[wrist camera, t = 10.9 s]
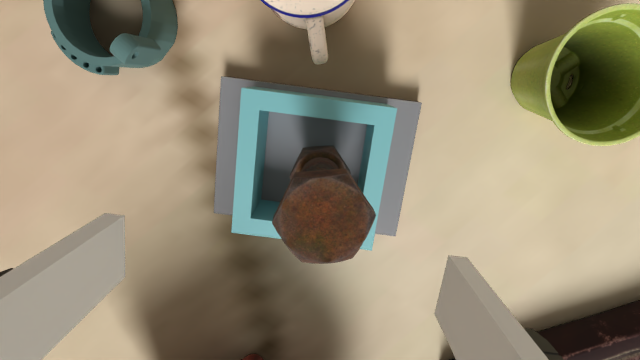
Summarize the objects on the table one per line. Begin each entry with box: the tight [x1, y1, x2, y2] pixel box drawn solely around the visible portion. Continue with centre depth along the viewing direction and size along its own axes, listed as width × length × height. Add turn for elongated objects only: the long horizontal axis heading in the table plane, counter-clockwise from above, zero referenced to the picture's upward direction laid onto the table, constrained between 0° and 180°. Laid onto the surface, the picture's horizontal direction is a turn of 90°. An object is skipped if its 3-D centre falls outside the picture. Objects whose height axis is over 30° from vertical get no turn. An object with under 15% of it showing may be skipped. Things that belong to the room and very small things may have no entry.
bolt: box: [272, 145, 376, 264], centre depth 27 cm, size 6×5×15 cm
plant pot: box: [511, 3, 640, 146], centre depth 29 cm, size 9×9×9 cm
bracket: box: [43, 0, 178, 75], centre depth 29 cm, size 9×9×9 cm
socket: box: [214, 76, 422, 250], centre depth 33 cm, size 18×13×6 cm
